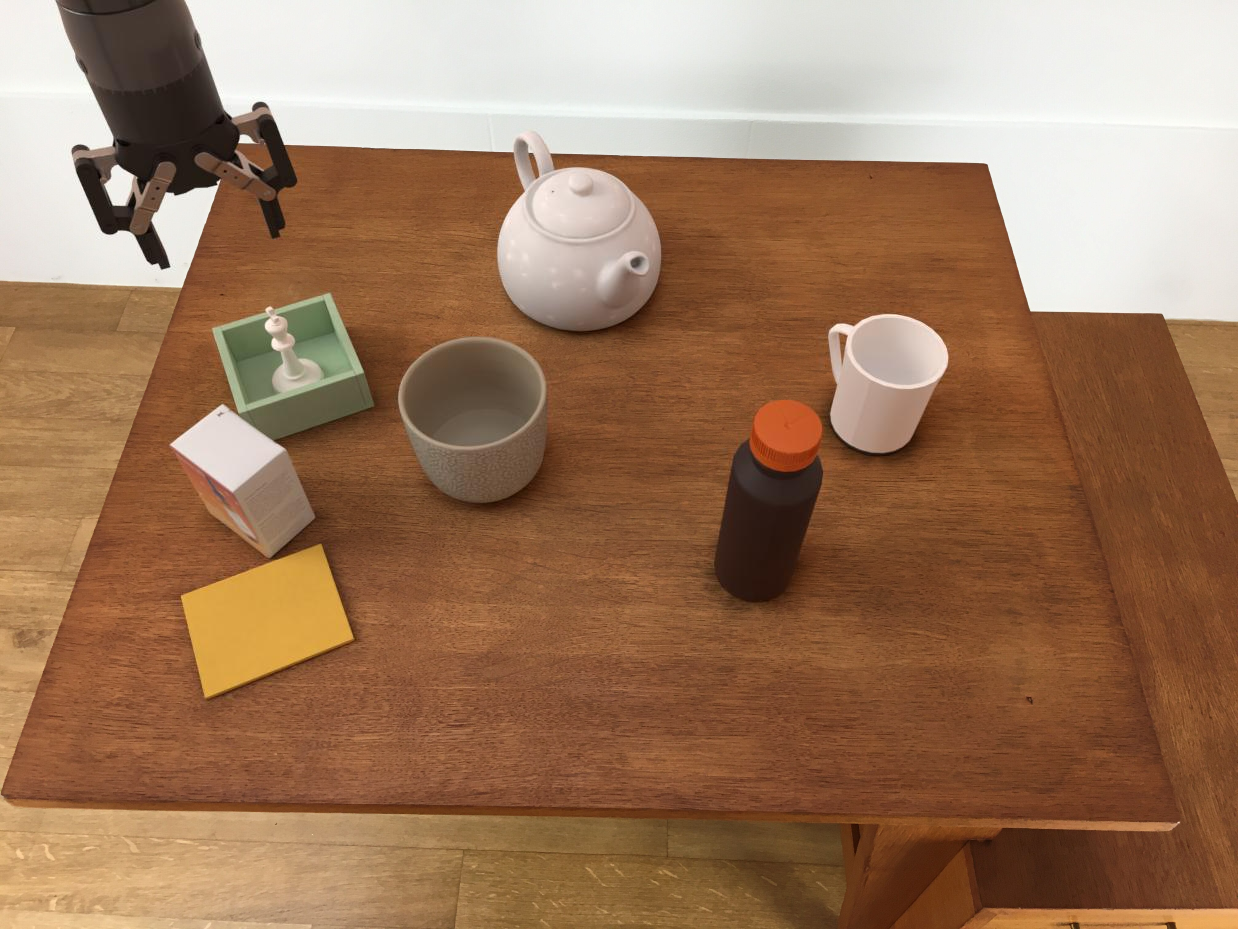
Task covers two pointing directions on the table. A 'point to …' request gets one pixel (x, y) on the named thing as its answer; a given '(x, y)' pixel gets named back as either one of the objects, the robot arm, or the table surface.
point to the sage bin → (314, 340)
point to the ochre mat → (265, 620)
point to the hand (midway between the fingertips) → (219, 247)
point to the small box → (244, 480)
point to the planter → (476, 417)
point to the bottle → (769, 501)
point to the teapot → (576, 245)
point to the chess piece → (289, 358)
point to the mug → (883, 380)
